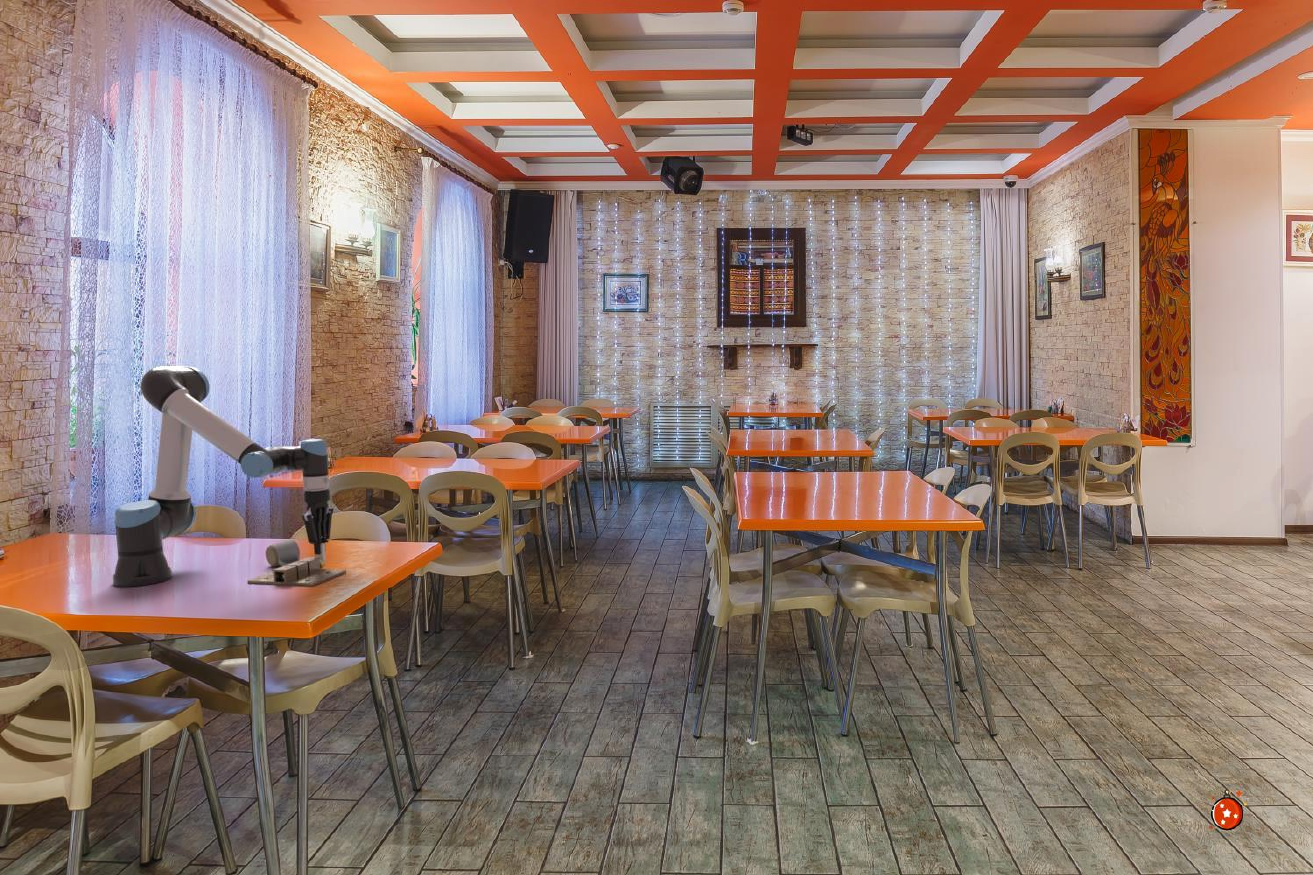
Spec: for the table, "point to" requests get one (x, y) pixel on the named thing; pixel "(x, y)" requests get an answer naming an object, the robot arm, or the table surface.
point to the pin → (296, 568)
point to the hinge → (298, 574)
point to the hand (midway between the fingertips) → (320, 563)
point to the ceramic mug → (283, 553)
